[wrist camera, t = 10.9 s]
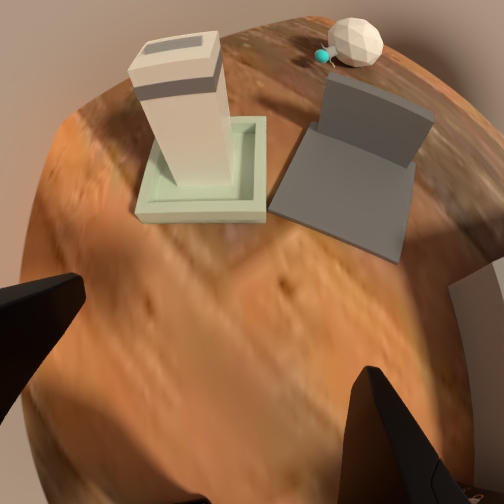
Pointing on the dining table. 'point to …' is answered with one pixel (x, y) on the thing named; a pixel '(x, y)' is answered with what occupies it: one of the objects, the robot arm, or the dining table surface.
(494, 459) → the box
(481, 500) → the coffee mug
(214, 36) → the banded cream pillar
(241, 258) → the dining table surface
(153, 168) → the tray
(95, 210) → the dining table surface
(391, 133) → the dock
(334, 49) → the perfume bottle
